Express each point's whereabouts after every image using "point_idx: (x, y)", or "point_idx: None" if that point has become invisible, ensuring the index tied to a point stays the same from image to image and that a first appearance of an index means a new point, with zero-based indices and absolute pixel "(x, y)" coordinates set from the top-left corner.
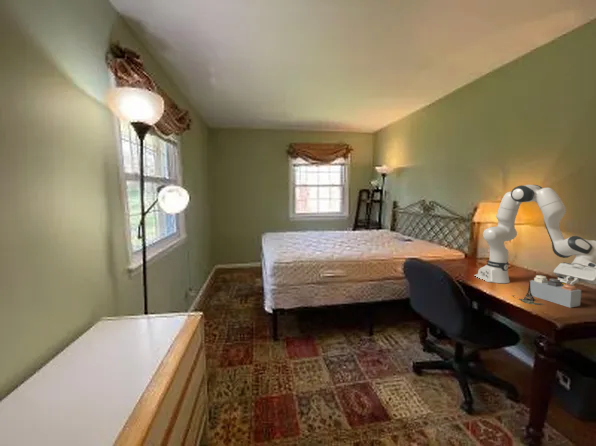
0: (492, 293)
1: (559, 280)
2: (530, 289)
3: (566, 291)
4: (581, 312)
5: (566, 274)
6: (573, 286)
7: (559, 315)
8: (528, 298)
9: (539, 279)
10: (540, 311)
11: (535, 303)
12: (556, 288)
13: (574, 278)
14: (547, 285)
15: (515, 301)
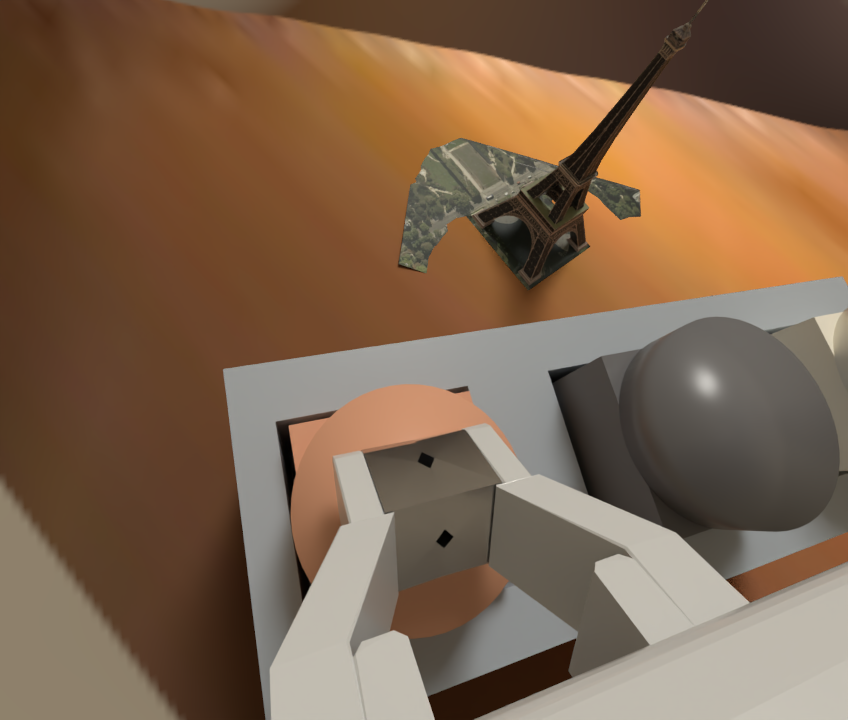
0: (678, 106)
1: (691, 471)
2: (592, 158)
3: (317, 361)
4: (90, 420)
5: (841, 587)
6: (313, 527)
7: (107, 127)
8: (566, 259)
9: (835, 314)
10: (246, 76)
11: (434, 203)
12: (487, 332)
13: (406, 677)
14: (625, 309)
15: (497, 104)
